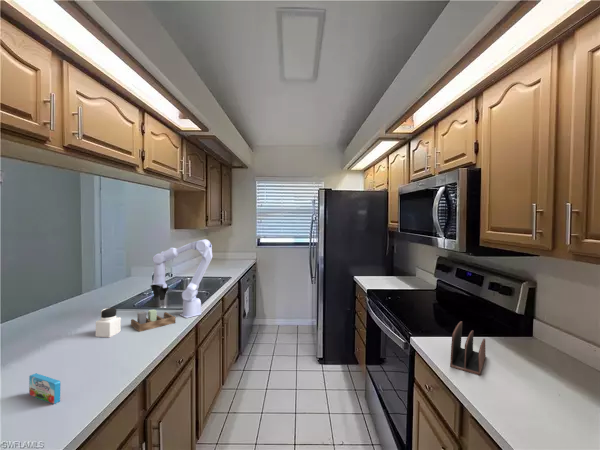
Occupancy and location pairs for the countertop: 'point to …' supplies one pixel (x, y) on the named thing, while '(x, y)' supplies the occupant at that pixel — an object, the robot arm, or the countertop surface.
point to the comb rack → (153, 322)
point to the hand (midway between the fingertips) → (159, 298)
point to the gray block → (141, 317)
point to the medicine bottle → (108, 323)
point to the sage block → (152, 315)
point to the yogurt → (44, 388)
